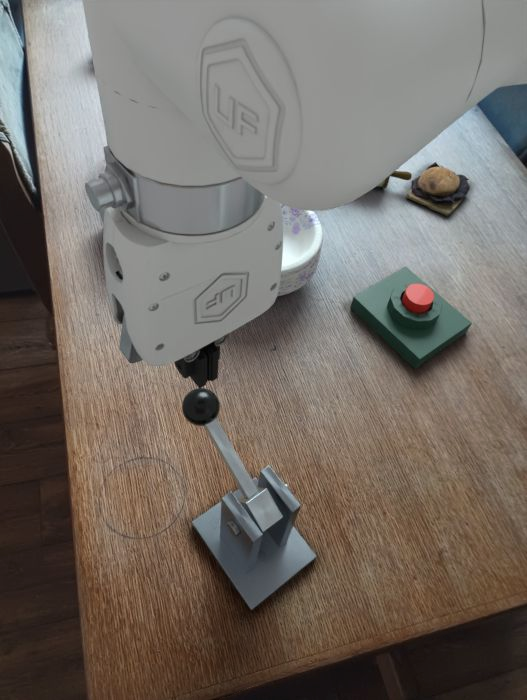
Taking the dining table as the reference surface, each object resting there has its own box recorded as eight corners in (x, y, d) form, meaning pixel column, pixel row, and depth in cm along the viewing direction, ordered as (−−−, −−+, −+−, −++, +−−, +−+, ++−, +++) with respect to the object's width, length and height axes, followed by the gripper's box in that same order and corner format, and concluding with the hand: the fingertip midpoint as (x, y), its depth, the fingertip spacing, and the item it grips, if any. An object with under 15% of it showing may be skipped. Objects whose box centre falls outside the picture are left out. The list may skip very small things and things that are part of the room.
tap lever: (171, 402, 47) (179, 398, 44) (202, 383, 48) (212, 378, 45) (246, 532, 47) (259, 536, 44) (275, 510, 48) (290, 513, 45)
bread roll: (449, 220, 85) (458, 201, 82) (401, 197, 87) (407, 178, 84) (474, 185, 90) (483, 167, 87) (428, 165, 92) (435, 146, 89)
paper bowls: (195, 303, 71) (193, 260, 65) (217, 225, 80) (217, 180, 74) (309, 321, 71) (319, 280, 64) (319, 241, 80) (328, 197, 73)
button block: (465, 333, 72) (477, 314, 69) (414, 369, 68) (424, 351, 65) (401, 277, 77) (409, 256, 74) (349, 307, 73) (356, 287, 70)
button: (435, 305, 69) (440, 297, 68) (416, 318, 68) (420, 309, 67) (415, 288, 71) (419, 279, 69) (395, 300, 69) (399, 290, 68)
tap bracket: (191, 525, 55) (186, 481, 45) (254, 480, 58) (263, 431, 48) (250, 612, 51) (259, 584, 41) (315, 559, 54) (337, 522, 44)
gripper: (86, 279, 22) (135, 461, 37) (354, 160, 28) (303, 358, 43) (9, 177, 25) (84, 383, 40) (265, 89, 31) (246, 297, 46)
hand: (197, 369), depth 41 cm, fingers closed
